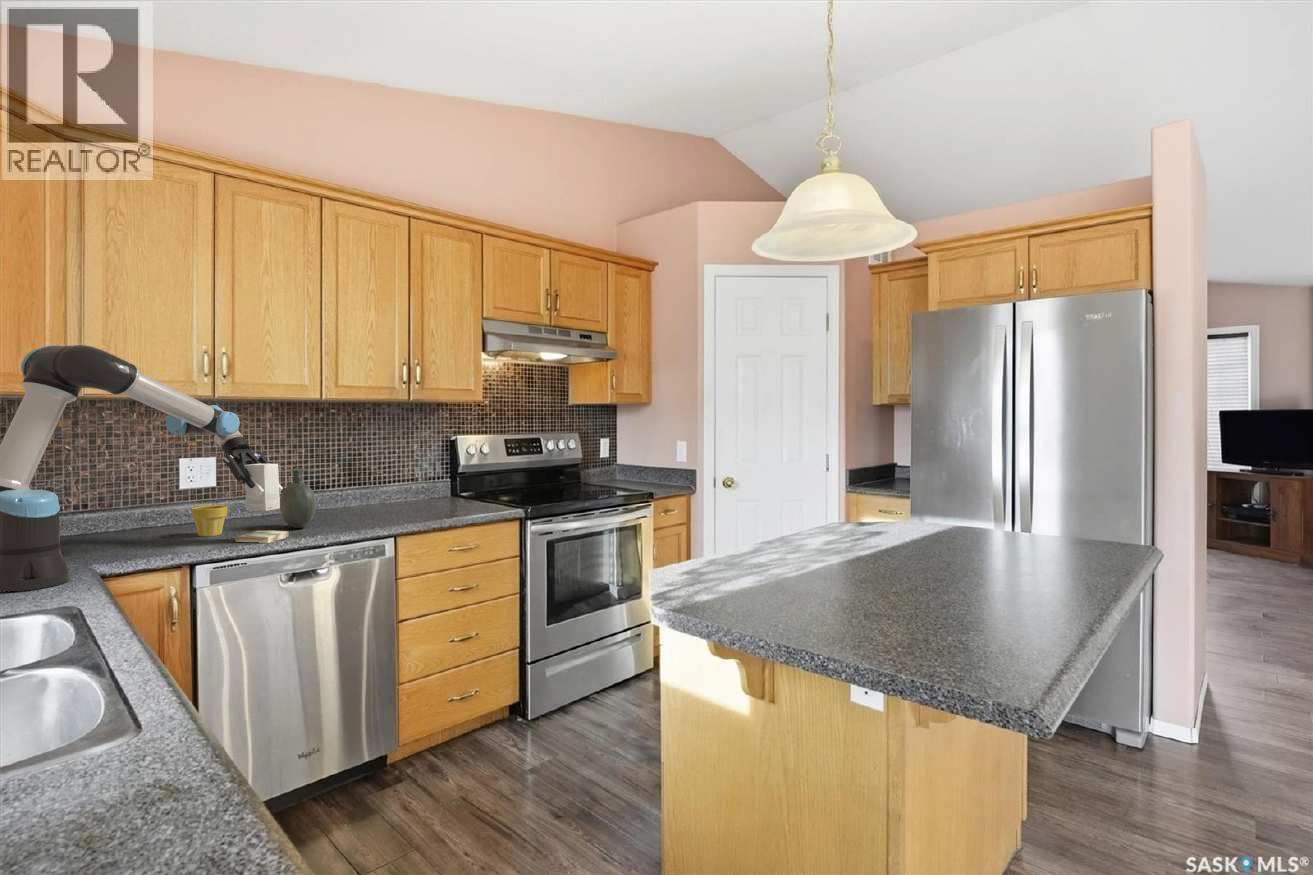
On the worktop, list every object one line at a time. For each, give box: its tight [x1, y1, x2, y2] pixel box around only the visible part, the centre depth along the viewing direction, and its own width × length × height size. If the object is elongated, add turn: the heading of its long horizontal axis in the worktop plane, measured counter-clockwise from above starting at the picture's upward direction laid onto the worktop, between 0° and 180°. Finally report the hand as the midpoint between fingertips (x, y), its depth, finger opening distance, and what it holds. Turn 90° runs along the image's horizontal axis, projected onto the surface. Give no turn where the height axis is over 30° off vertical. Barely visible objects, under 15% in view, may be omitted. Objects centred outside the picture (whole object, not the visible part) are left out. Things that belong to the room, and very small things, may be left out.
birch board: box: [235, 530, 290, 544], centre depth 221 cm, size 11×11×2 cm
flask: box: [279, 468, 317, 529], centre depth 244 cm, size 12×17×22 cm
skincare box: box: [244, 463, 281, 512], centre depth 221 cm, size 8×7×16 cm
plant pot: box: [190, 505, 228, 537], centre depth 229 cm, size 10×10×10 cm
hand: (270, 492), depth 220 cm, fingers closed on skincare box, 7 cm apart
